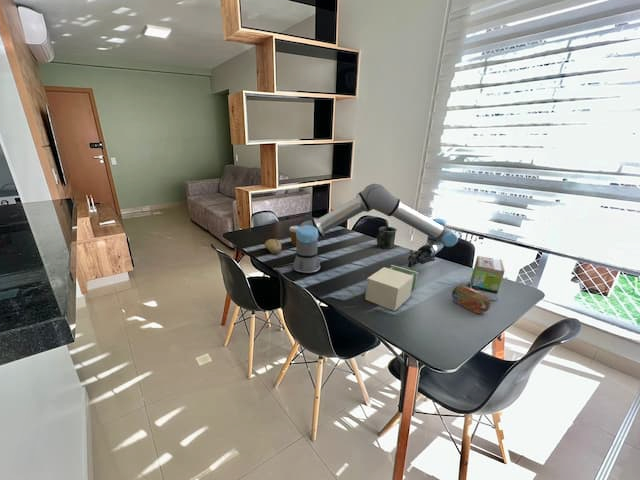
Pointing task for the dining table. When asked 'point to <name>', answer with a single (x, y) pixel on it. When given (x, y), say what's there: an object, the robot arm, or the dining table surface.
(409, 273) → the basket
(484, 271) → the tea box
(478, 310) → the orange brown snack packet
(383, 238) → the mug
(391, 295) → the cream foam cube
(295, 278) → the dining table surface
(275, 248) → the bread roll
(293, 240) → the disposable coffee cup
